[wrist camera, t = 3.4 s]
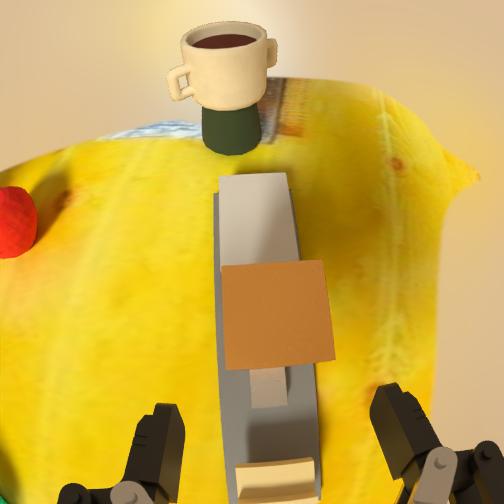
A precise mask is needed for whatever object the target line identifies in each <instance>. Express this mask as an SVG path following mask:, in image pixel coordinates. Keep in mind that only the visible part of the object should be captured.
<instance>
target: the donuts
mask: <svg viewBox="0 0 504 504" xmlns="http://www.w3.org/2000/svg"><path fill="white" fill-rule="evenodd" d="M0 504H7V503H6V502H5V501H4V499H3V498H2V497H1V496H0Z"/></svg>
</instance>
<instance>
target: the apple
mask: <svg viewBox="0 0 504 504" xmlns="http://www.w3.org/2000/svg"><path fill="white" fill-rule="evenodd" d="M37 217H38V213H37V211H36V208H35V205H34V203H33V200H32V198H31V197H30V195H29V194H28V193H27V192H26V190H25V189H23V188H21V187H15V186H8V187H4V188H0V258H2V259H6V258H15V257H18V256H20V255H22V254H23V253H25V252H27V251H28V250H29V249H30V247H31V246H32V245H33V243H34V240H35V238H36V233H37Z"/></svg>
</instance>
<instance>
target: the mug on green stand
mask: <svg viewBox="0 0 504 504" xmlns="http://www.w3.org/2000/svg"><path fill="white" fill-rule="evenodd" d="M181 51H182V56H183V61H184V64H183V65H181V66H178V67H176V68H173V69H171V70H170V71H168V72H167V76H166V80H167V84H168V88H169V92H170V96H171V98H172V100H173V101H180V100H183V99H185V98H187V97H190V96H192V97H193V99H194V100H195V101H196V102H197V103H199V104H200V105H202V136H203V141H204V143H205V145H206V147H208V148H209V149H211V150H212V151H214V152H216V153H220V154H224V155H228V156H230V155H242V154H244V153H246V152H248V151H250V150H253V149H254V148H255V146H256V145H257V144H258V142H259V141H260V136H261V127H260V119H259V113H258V108H257V102H258V101H259V100H260V99H261V97H262V96H263V94H264V93H265V90H266V77H267V74H266V73H267V68H270V67H273V66H274V65H275V64H276V62H277V42H276V40H275V39H267V33H266V30H265V29H263V28H261V27H260V26H258V25H255V24H251V23H247V22H236V21H228V22H217V23H211V24H206V25H202V26H199V27H197V28H194V29H193V30H190V31H189V32H187V33H186V34H185V35H184V36H183V37H182V39H181ZM184 75H186V78H187V83H188V86H187V87H185V88H182V89H180V85H179V81H178V78H179V77H181V76H184Z"/></svg>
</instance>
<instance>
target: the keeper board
mask: <svg viewBox="0 0 504 504" xmlns="http://www.w3.org/2000/svg"><path fill="white" fill-rule="evenodd" d="M288 261H302V260H301V253H300V246H299V239H298V232H297V226H296V219H295V213H294V207H293V200H292V194H291V189H288V183H287V177H286V172H284V173H260V174H242V175H227V176H219V193H214V282H215V315H216V340H217V361H218V379H219V395H220V410H221V423H222V436H223V448H224V459H225V469H226V479H227V489H228V498H229V504H318V500H321V474H320V449H319V430H318V414H317V400H316V387H315V375H314V364H306V365H299V366H291V367H285V377H286V390H287V403H288V406H278V407H267V408H252V402H251V387H250V373H249V370H226V365H225V346H224V326H223V302H222V273H221V266H226V265H242V264H258V263H273V262H288Z"/></svg>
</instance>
